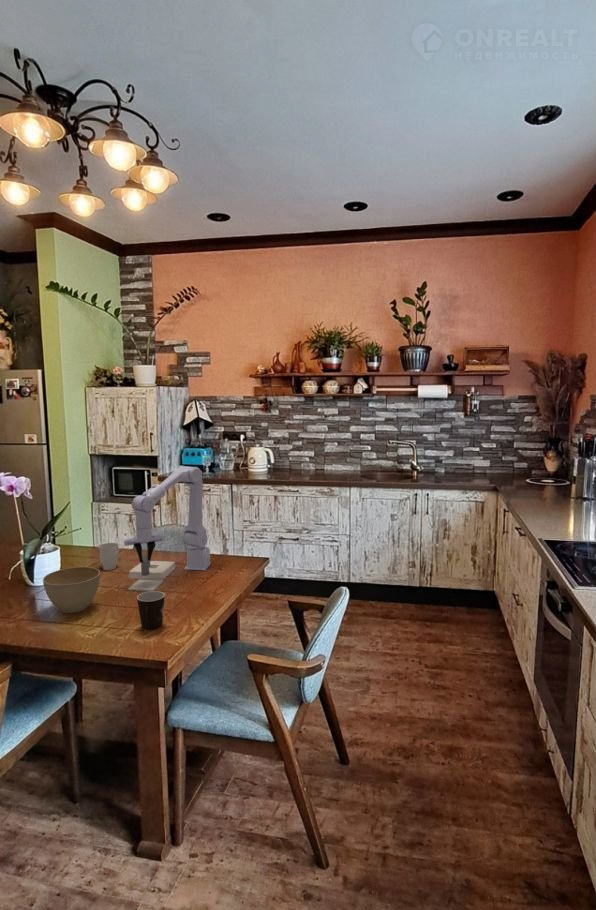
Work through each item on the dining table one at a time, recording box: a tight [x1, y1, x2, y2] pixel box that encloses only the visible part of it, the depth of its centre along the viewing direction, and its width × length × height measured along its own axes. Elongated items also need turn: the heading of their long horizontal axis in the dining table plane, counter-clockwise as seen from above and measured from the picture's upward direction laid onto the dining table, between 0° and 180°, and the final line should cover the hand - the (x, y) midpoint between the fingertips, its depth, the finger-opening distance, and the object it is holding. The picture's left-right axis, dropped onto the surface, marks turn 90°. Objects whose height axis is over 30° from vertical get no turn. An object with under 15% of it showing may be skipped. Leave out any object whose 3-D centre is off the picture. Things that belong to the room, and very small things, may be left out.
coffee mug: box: [136, 590, 166, 631], centre depth 171 cm, size 12×9×10 cm
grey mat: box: [127, 579, 164, 592], centre depth 208 cm, size 10×10×1 cm
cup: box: [97, 542, 119, 571], centre depth 228 cm, size 8×8×10 cm
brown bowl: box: [42, 566, 101, 614], centre depth 186 cm, size 18×18×12 cm
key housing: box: [128, 560, 176, 581], centre depth 222 cm, size 14×14×3 cm
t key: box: [141, 554, 151, 576], centre depth 207 cm, size 8×3×6 cm, turn 26°
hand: (145, 561), depth 207 cm, fingers closed on t key, 2 cm apart
